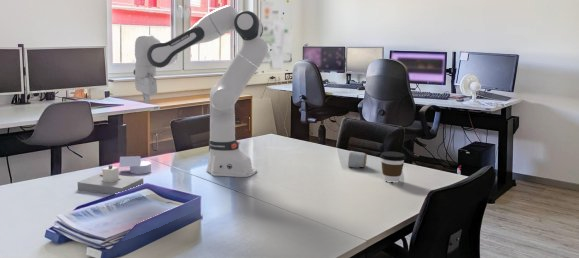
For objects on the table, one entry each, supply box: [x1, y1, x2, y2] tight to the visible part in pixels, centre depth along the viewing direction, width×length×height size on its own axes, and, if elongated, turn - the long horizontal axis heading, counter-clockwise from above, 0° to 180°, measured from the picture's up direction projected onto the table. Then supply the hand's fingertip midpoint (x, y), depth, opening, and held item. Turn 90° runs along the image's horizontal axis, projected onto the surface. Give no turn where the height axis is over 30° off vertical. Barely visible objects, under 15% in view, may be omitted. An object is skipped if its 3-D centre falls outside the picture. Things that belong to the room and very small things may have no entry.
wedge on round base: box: [118, 155, 152, 175], centre depth 219 cm, size 9×7×13 cm
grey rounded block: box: [347, 150, 368, 168], centre depth 236 cm, size 11×8×8 cm
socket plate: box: [77, 172, 144, 195], centre depth 195 cm, size 20×14×4 cm
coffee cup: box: [379, 151, 407, 182], centre depth 213 cm, size 11×11×12 cm
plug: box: [101, 164, 120, 183], centre depth 195 cm, size 4×4×8 cm
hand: (146, 102), depth 224 cm, fingers closed
